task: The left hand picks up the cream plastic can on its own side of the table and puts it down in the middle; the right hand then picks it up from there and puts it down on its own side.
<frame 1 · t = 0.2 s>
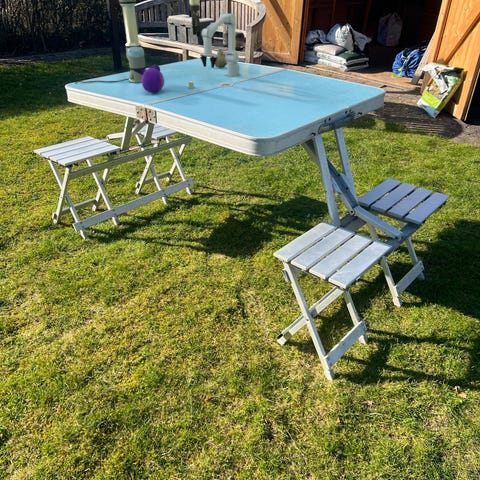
left hand: (196, 35, 349), 28 cm above the table, tool pointing down, fingers open, 13 cm apart
right hand: (208, 67, 329), 10 cm above the table, tool pointing down, fingers open, 7 cm apart
can: (191, 87, 316), on the table
teapot: (221, 67, 384), on the table
toy: (151, 91, 308), on the table
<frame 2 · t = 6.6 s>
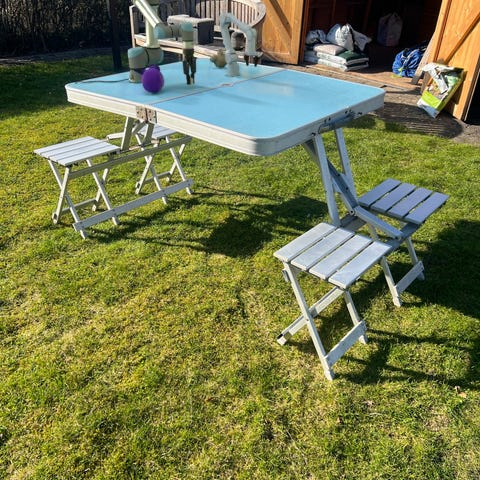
left hand: (190, 83, 314), 3 cm above the table, tool pointing down, fingers closed on can, 4 cm apart
right hand: (251, 66, 338), 8 cm above the table, tool pointing down, fingers open, 7 cm apart
can: (190, 84, 315), point 2 cm above the table, touching left hand
everything else where it was.
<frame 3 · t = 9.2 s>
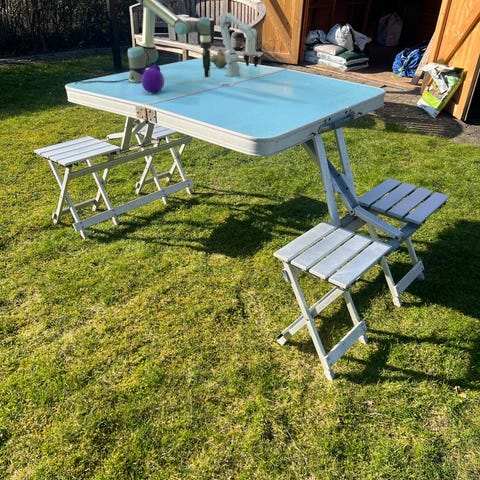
left hand: (207, 76, 329), 4 cm above the table, tool pointing down, fingers closed on can, 4 cm apart
right hand: (251, 66, 338), 8 cm above the table, tool pointing down, fingers open, 7 cm apart
can: (207, 76, 329), point 4 cm above the table, touching left hand
everything else where it was.
when the left hand's fingers open (0 cm above the table, at t = 11.6 s): can stays where it is, on the table.
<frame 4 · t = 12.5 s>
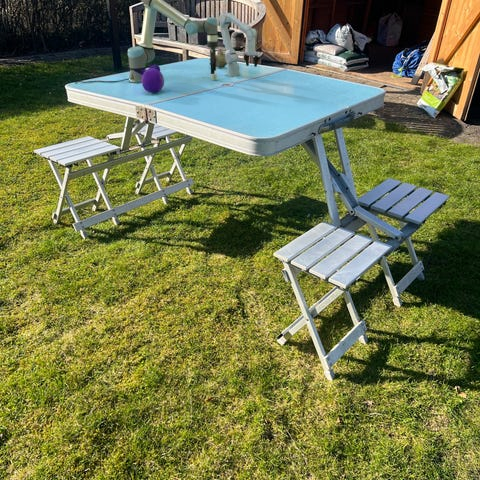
left hand: (213, 72, 335), 6 cm above the table, tool pointing down, fingers open, 13 cm apart
right hand: (251, 66, 338), 8 cm above the table, tool pointing down, fingers open, 7 cm apart
can: (214, 80, 338), on the table
everything else where it was.
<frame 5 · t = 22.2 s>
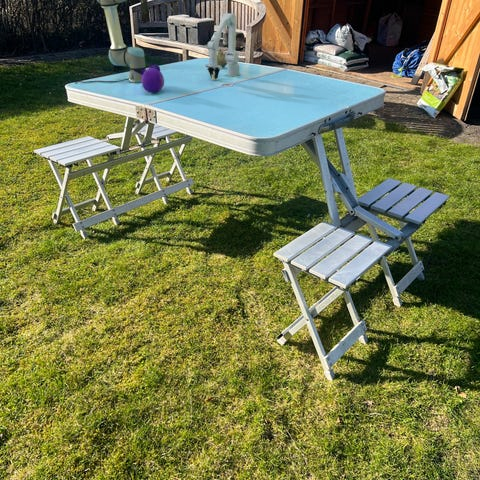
left hand: (146, 22, 360), 36 cm above the table, tool pointing down, fingers open, 13 cm apart
right hand: (214, 78, 337), 1 cm above the table, tool pointing down, fingers closed on can, 4 cm apart
can: (214, 80, 338), on the table, touching right hand
everything else where it was.
when the right hand's fingers open (2 cm above the table, at t = 28.0 s): can stays where it is, on the table.
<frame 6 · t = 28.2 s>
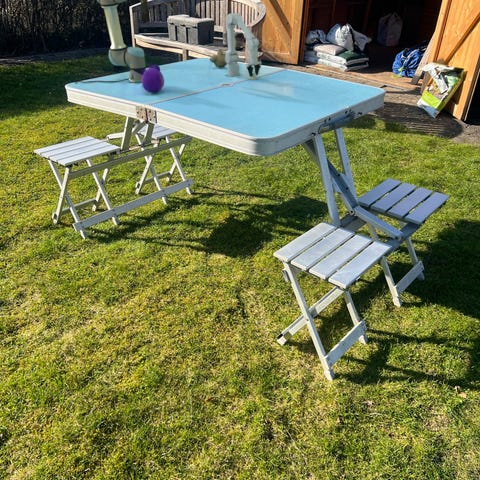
left hand: (146, 22, 360), 36 cm above the table, tool pointing down, fingers open, 13 cm apart
right hand: (253, 75, 337), 2 cm above the table, tool pointing down, fingers open, 5 cm apart
can: (253, 79, 338), on the table
everything else where it was.
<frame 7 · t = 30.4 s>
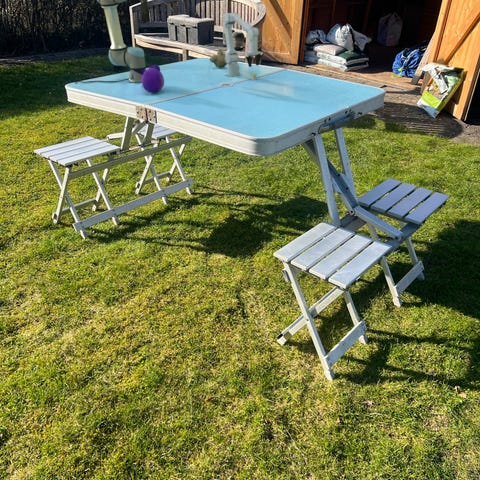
left hand: (146, 22, 360), 36 cm above the table, tool pointing down, fingers open, 13 cm apart
right hand: (253, 66, 333), 9 cm above the table, tool pointing down, fingers open, 7 cm apart
nothing on the table moved.
at the end: can inside the target area (0.1 cm from its centre), on the table; can tilted 0°; the two hands never held the can at the same time; the left hand is holding nothing; the right hand is holding nothing; can at rest at the end (0.0 cm/s) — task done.
